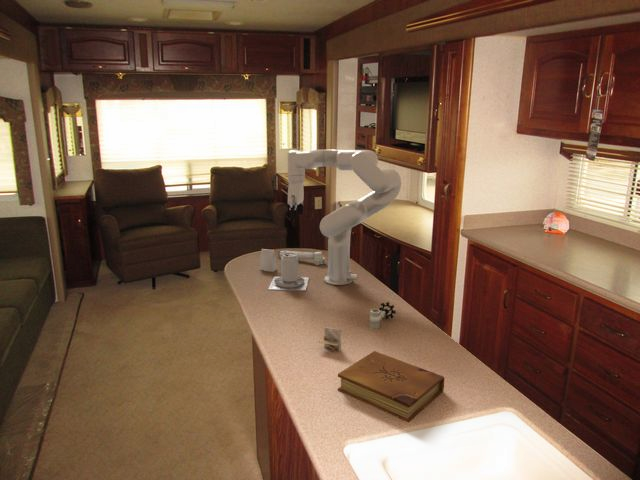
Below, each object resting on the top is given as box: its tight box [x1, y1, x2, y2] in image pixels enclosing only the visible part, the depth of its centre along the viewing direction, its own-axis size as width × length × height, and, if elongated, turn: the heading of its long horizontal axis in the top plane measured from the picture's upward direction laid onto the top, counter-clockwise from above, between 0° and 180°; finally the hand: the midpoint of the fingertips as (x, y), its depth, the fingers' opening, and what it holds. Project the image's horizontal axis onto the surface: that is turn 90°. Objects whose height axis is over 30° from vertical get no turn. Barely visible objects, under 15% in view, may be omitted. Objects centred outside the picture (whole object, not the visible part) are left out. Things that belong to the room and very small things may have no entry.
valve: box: [368, 301, 397, 330], centre depth 188 cm, size 7×7×12 cm
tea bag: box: [259, 248, 277, 273], centre depth 245 cm, size 4×7×10 cm, turn 66°
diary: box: [337, 350, 445, 423], centre depth 145 cm, size 23×19×6 cm
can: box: [280, 253, 299, 283], centre depth 226 cm, size 8×8×12 cm
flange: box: [267, 275, 310, 292], centre depth 228 cm, size 16×16×2 cm
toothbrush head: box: [277, 249, 326, 266], centre depth 259 cm, size 5×7×25 cm
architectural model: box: [317, 326, 342, 352], centre depth 168 cm, size 3×7×7 cm, turn 70°
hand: (296, 216), depth 234 cm, fingers open, 9 cm apart
